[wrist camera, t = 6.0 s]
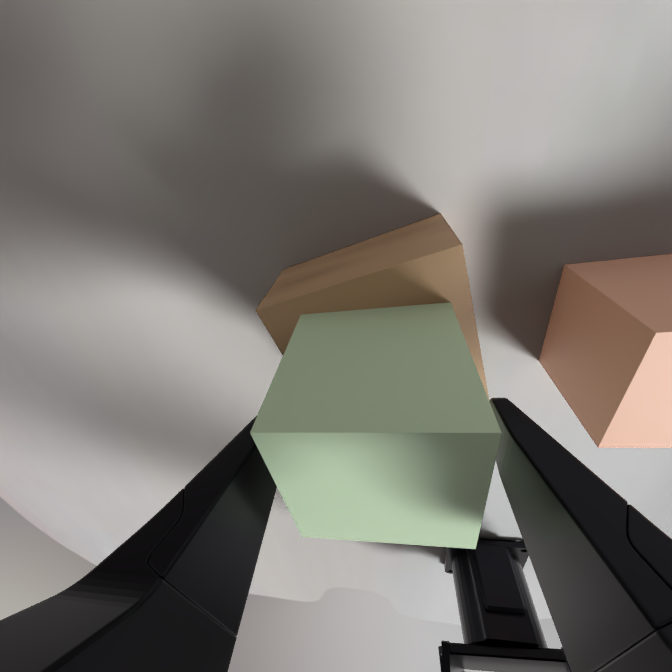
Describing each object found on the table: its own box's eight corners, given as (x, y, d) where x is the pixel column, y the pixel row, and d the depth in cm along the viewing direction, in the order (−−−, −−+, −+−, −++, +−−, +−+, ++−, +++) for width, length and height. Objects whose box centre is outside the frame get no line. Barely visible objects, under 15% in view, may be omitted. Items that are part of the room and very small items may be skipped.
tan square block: (466, 348, 15) (490, 408, 12) (339, 375, 17) (330, 433, 14) (439, 211, 12) (462, 244, 8) (284, 267, 14) (255, 310, 11)
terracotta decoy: (657, 354, 14) (773, 448, 10) (538, 359, 15) (598, 447, 11) (714, 248, 11) (907, 317, 7) (563, 264, 12) (656, 333, 8)
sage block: (444, 409, 12) (475, 549, 8) (326, 410, 13) (301, 536, 9) (450, 302, 10) (501, 432, 5) (301, 314, 11) (250, 432, 6)
